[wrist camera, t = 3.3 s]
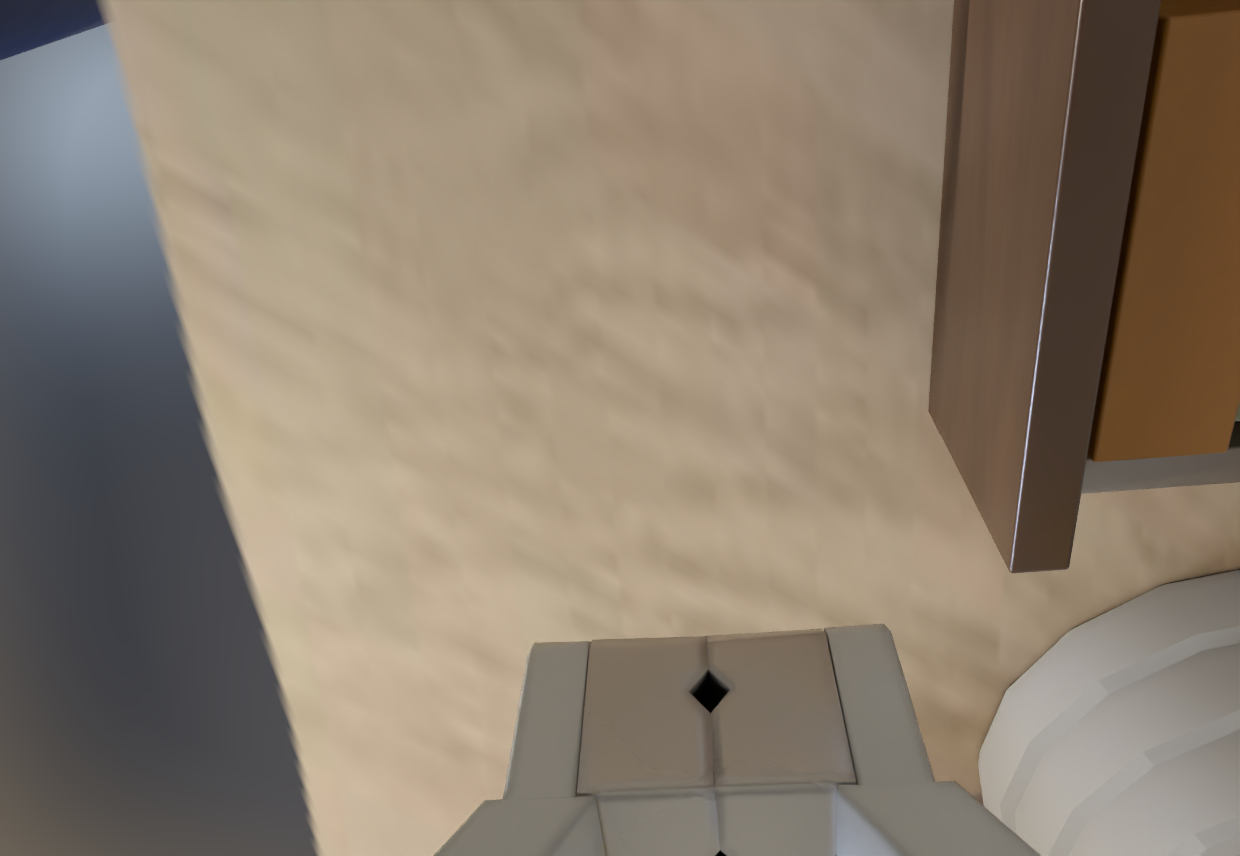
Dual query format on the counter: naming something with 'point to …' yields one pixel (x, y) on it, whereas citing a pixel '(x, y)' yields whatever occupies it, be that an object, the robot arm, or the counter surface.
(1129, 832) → the soap bottle
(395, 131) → the counter surface
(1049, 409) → the tray
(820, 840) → the robot arm
